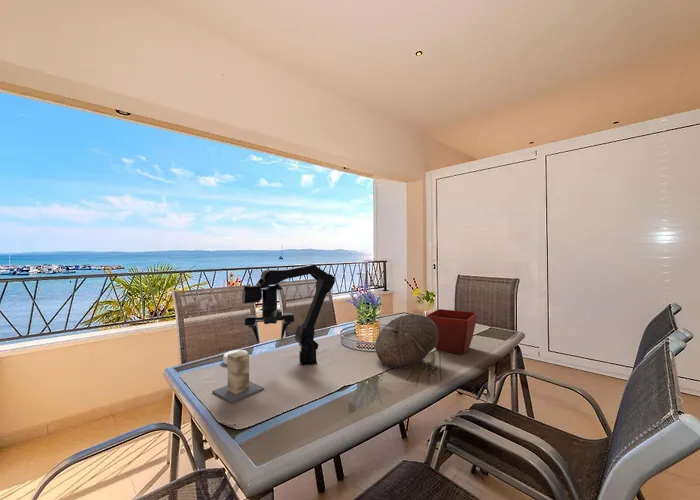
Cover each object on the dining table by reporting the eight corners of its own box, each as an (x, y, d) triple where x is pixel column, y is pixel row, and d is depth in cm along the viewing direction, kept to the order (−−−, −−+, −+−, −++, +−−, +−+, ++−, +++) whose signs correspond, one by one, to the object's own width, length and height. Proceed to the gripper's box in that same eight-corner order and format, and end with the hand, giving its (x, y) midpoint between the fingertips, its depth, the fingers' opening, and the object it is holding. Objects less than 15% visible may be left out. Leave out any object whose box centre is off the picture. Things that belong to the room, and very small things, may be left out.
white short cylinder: (239, 366, 125) (239, 358, 125) (218, 364, 127) (218, 356, 127) (252, 357, 135) (252, 350, 135) (232, 356, 137) (232, 348, 137)
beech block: (240, 384, 106) (240, 350, 106) (249, 388, 103) (248, 353, 103) (227, 389, 102) (227, 354, 102) (235, 394, 99) (235, 357, 99)
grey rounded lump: (357, 362, 129) (366, 307, 139) (398, 373, 139) (404, 320, 149) (399, 365, 106) (406, 298, 117) (445, 377, 116) (448, 314, 126)
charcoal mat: (244, 380, 111) (244, 378, 111) (264, 389, 103) (264, 387, 103) (212, 392, 101) (212, 390, 101) (231, 403, 94) (231, 401, 94)
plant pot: (425, 350, 142) (425, 315, 142) (439, 340, 158) (438, 308, 158) (468, 358, 131) (467, 320, 131) (477, 346, 147) (477, 312, 147)
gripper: (244, 306, 109) (244, 349, 109) (295, 303, 115) (295, 344, 115) (245, 301, 120) (245, 340, 120) (292, 299, 126) (292, 336, 125)
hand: (269, 340), depth 120 cm, fingers open, 9 cm apart
